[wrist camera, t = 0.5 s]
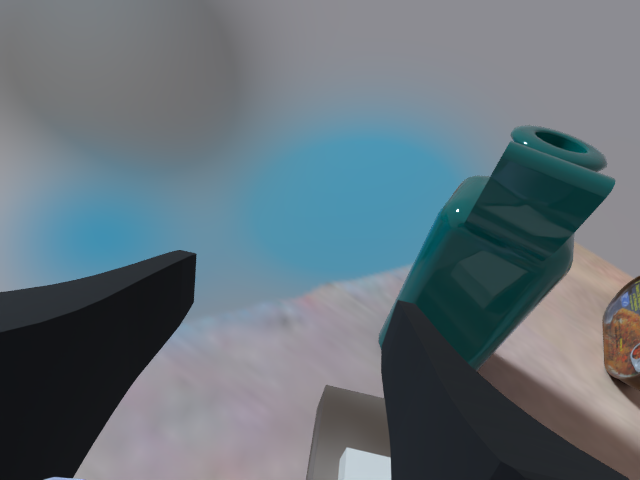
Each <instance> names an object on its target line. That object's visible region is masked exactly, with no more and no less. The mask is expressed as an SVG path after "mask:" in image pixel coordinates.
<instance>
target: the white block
mask: <svg viewBox="0 0 640 480" xmlns="http://www.w3.org/2000/svg"><path fill="white" fill-rule="evenodd" d="M338 480H391V458H390V457H386V456H382V455H377V454H373V453H369V452H365V451H360V450H356V449H352V448H348V447H347V448H346V450H345V451H344V453H343V455H342V456H341V458H340V462H339V473H338Z"/></svg>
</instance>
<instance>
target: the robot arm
mask: <svg viewBox="0 0 640 480" xmlns="http://www.w3.org/2000/svg"><path fill="white" fill-rule="evenodd" d="M195 268H196V254H195V253H191V252H187V251H182V250H177V251H173V252H169V253H166V254H163V255H160V256H156V257H153V258H151V259H147V260H144V261H141V262H138V263H135V264H132V265H128V266H125V267H122V268H118V269H115V270H111V271H108V272H104V273H101V274H98V275H94V276H90V277H86V278H81V279H77V280H73V281H68V282H63V283H58V284H53V285H47V286H41V287H34V288H28V289H21V290H14V291H8V292H0V480H84V479H73V477H74V475H75V473H76V472H77V470H78V468H79V467H80V465H81V463H82V462H83V460H84V458H85V457H86V455H87V453H88V452H89V450H90V448H91V447H92V445H93V443H94V442H95V440H96V439H97V437H98V435H99V434H100V432H101V431H102V429H103V428H104V426H105V424H106V423H107V421H108V420H109V418H110V416H111V415H112V413H113V412H114V410H115V409H116V407H117V406H118V404H119V403H120V401H121V400H122V398H123V397H124V395H125V394H126V392H127V391H128V389H129V388H130V386H131V385H132V384H133V382H134V381H135V380H136V378H137V377H138V376H139V375H140V373H141V372H142V371H143V370H144V368H145V367H146V366H147V365H148V364H149V362H150V361H151V360H152V359H153V358H154V356H155V355H156V354H157V353H158V351H159V350H160V349H161V348H162V347H163V345H164V344H165V343H166V342H167V341H168V339H169V338H170V337H171V336H172V334H173V333H174V332H175V331H176V329H177V328H178V327H179V326H180V324H181V322H182V321H183V319H184V318H185V316H186V314H187V313H188V311H189V309H190V308H191V306H192V304H193V302H194V287H195V270H196V269H195ZM381 373H382V382H383V390H384V398H385V406H386V414H387V422H388V429H389V439H390V452H391V480H629V479H628V478H627V477H625V476H624V475H622V474H620V473H619V472H617V471H615V470H614V469H612V468H610V467H609V466H607V465H605V464H604V463H602V462H600V461H599V460H597V459H595V458H593V457H592V456H590V455H588V454H587V453H585V452H583V451H582V450H580V449H578V448H577V447H575V446H574V445H572V444H571V443H569V442H568V441H566V440H565V439H563V438H562V437H560V436H559V435H557V434H556V433H554V432H553V431H551V430H550V429H548V428H547V427H545V426H544V425H542V424H541V423H540V422H538V421H537V420H535V419H534V418H532V417H531V416H530V415H528V414H527V413H526V412H524V411H523V410H522V409H521V408H519V407H518V406H517V405H515V404H514V403H513V402H511V401H510V400H509V399H508V398H506V397H505V396H504V395H503V394H501V393H500V392H499V391H498V390H497V389H495V388H494V387H493V386H492V385H491V384H490V383H489V382H488V381H486V380H485V379H484V378H483V377H482V376H481V375H480V374H479V373H478V372H477V371H475V370H474V369H473V368H472V367H471V366H470V365H469V364H468V363H467V362H466V361H465V360H464V359H463V358H462V357H461V356H460V354H459V353H458V352H457V351H456V350H455V349H454V348H453V347H452V346H451V345H450V344H449V343H448V341H447V340H446V339H445V338H444V337H443V336H442V335H441V334H440V332H439V331H438V330H437V329H436V328H435V326H434V325H433V324H432V323H431V322H430V320H429V319H428V318H427V317H426V316H425V314H424V313H423V312H422V311H421V310H420V309H419V308H418V306H417V305H416V304H413V303H409V302H405V301H400V300H397V303H396V306H395V309H394V312H393V315H392V317H391V320H390V323H389V326H388V329H387V332H386V335H385V338H384V341H383V344H382V356H381Z"/></svg>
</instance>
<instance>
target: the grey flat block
mask: <svg viewBox="0 0 640 480" xmlns="http://www.w3.org/2000/svg"><path fill="white" fill-rule="evenodd" d="M347 447H348V448H352V449H356V450H360V451H365V452H369V453H373V454H377V455H382V456H386V457H390V458H391V452H390V439H389V429H388V422H387V414H386V406H385V399H384V398H380V397H376V396H371V395H367V394H363V393H359V392H354V391H350V390H346V389H341V388H337V387H333V386H329V385H326V386H325V389H324V392H323V394H322V397H321V399H320V402H319V405H318V407H317V412H316V418H315V425H314V431H313V438H312V444H311V451H310V458H309V464H308V471H307V477H306V480H338V473H339V462H340V458H341V456H342V455H343V453H344V451H345V450H346V448H347Z"/></svg>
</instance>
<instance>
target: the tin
mask: <svg viewBox="0 0 640 480" xmlns="http://www.w3.org/2000/svg"><path fill="white" fill-rule="evenodd" d="M603 340H604V364H605V368H606V370H607V372H608V373H609V374H610V375H611V376H612V377H614V378H617V379H619V380H621V381H623V382H624V383H626V384H628V385H629V386H631V387H633V388H634V389H637V390H639V391H640V276H638V277H636V278H635V279H633V280H632V281H630V282H629V283H628V284H627V285H625V286H624V287H623V288H622V289H621V290H620V291H619V292H618V293H617V294H616V296H615V297H614V298H613V299H612V301H611V302H610V303H609V305H608V307H607V308H606V311H605V313H604V316H603Z"/></svg>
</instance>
